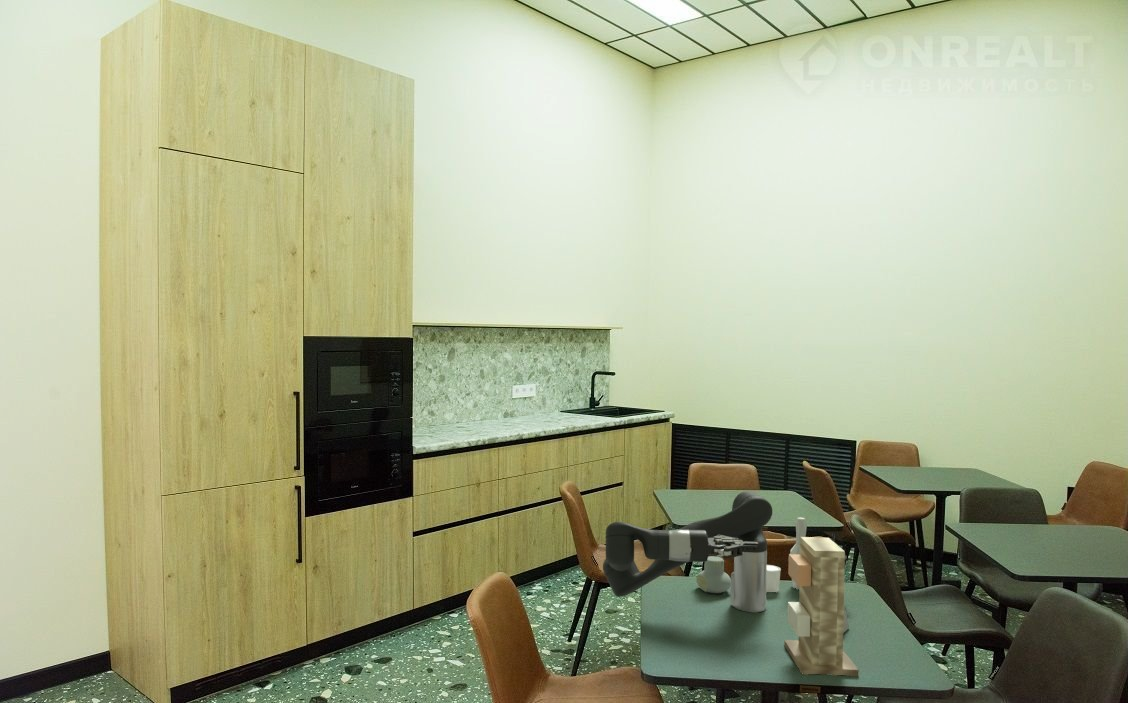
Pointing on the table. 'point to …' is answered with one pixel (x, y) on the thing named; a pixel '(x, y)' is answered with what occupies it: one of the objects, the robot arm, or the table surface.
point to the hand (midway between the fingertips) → (758, 547)
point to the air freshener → (714, 576)
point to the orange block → (799, 570)
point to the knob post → (822, 612)
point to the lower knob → (798, 619)
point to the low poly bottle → (798, 540)
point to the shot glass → (772, 578)
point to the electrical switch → (845, 622)
